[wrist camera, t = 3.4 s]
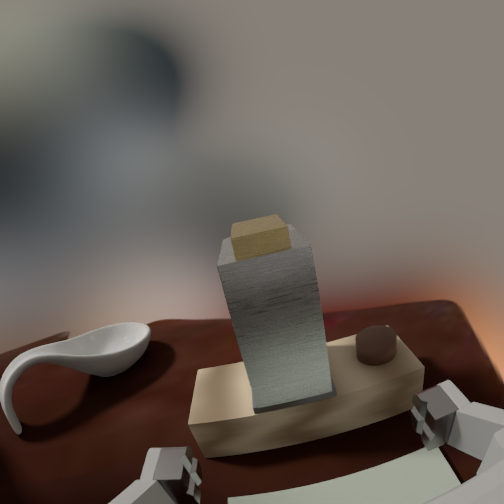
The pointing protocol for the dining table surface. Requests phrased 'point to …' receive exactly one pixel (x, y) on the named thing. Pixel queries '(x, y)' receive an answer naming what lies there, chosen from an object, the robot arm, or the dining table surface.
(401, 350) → the block plane
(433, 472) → the mat
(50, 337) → the dining table surface
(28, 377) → the dining table surface
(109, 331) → the spoon rest
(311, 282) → the grey tall block
